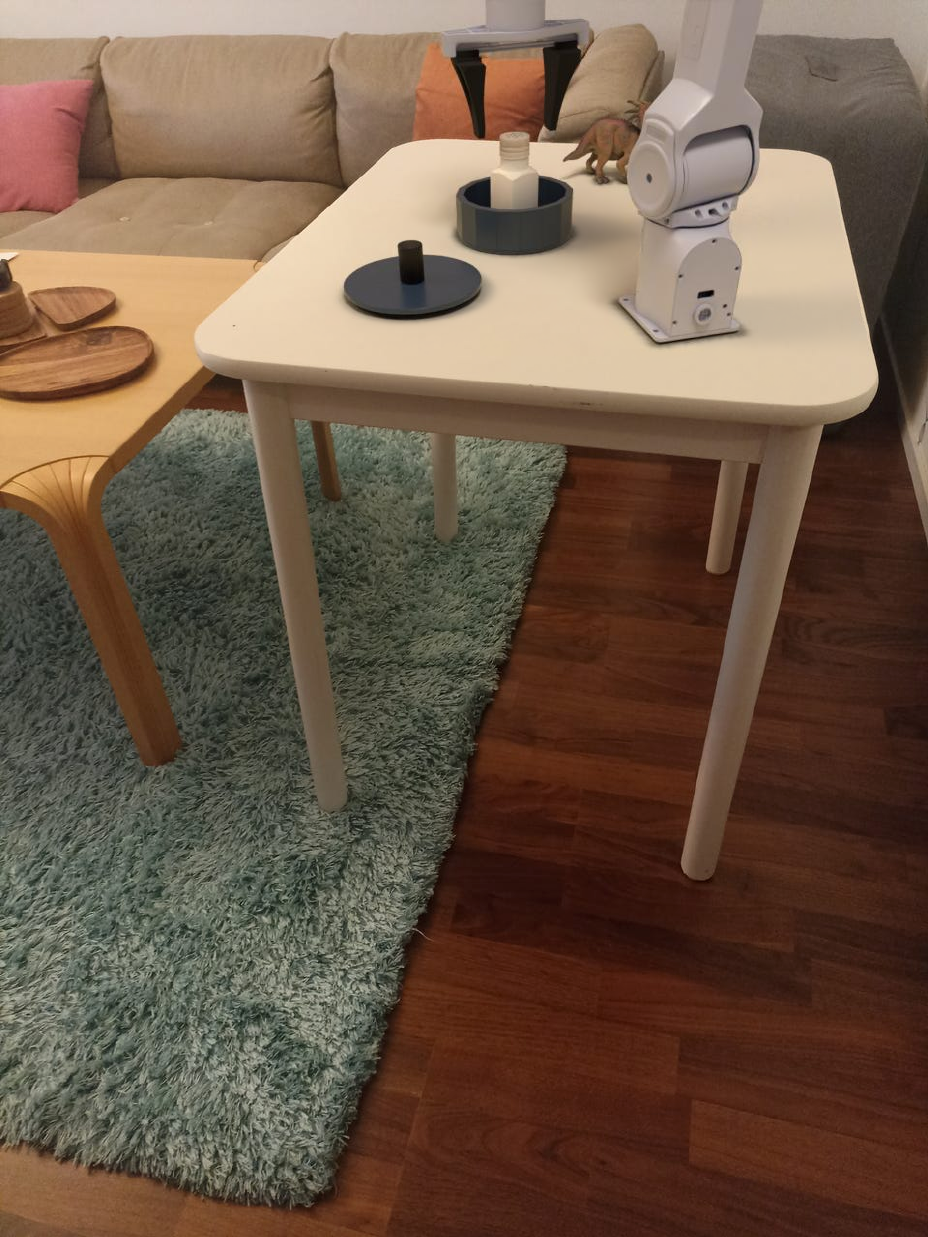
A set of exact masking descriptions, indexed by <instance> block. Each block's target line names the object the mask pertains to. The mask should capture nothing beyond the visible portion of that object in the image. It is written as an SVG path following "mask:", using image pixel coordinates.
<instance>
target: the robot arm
mask: <svg viewBox="0 0 928 1237" xmlns="http://www.w3.org/2000/svg"><path fill="white" fill-rule="evenodd" d="M764 2H765V0H685V6H684V12H683V16H682V17H683V18H682V23H681V28H680V34H679V40H678V46H677V51H676V57H675V61H674V62H675V63H674V69H673V73H672V79H671V80H670V82H669V83H668V85H667V86H665V88H664V89H663V90H662V91H661V92H660V94H659V95H658V96H657V98H656V99H654V100H653V102H651V106H650V107H649V108H648V109H647V110H646V112H645V114H644V117H643V124H642V125H641V128H640V130H641V133H640V136H639V138H638V141H637V142H636V144H635V146H634V148H633V149H632V152H631V155H630V158H629V162H628V164H627V171H626V175H627V176H626V177H627V182H628V183H627V188H628V192H629V195H630V198H631V201H632V202H633V205H634V206H635V208H636V210H637V215H638V216H641V217H643V221H642V228H641V239H640V241H641V242H640V248H639V249H640V250H639V260H638V269H637V277H636V278H637V279H636V287H635V288H636V289H635V293H634V294H626V295H621V296H619V297H618V303H619V304H620V305H621V306H622V307H623V309H625V310H626V311H627V313H628V314H629V315H630V316H631V317H632V318H633V319H634V320H635V321H636V322H637V323H638V324H639V326H641V328H642V329H643V330H644V331H645V332H646V333H647V334H648V335H649V336H650V337H651V338H652V339H653V340H654V341H655V342H657V343H666V342H673V341H679V340H686V339H691V338H699V337H707V336H712V335H718V334H726V333H732V332H737V331H739V329H740V326H741V325H740V323H738V322H737V321H736V320H735V319H734V318H733V315H734V310H735V304H736V298H737V294H738V290H739V289H738V288H739V283H740V278H741V272H742V266H743V256H742V252H741V250H740V248H739V245H738V244H737V243H736V242H735V240H734V238H733V237H732V235H731V229H730V218H731V213H732V212H734V211H736V210H737V209H738V202H739V198H740V196H742V195H744V194H745V193H746V192H748V190H749V189H750V188H751V186H752V185H753V183H754V182H755V180H756V178H757V175H758V171H759V167H760V160H761V158H760V157H761V155H760V154H761V152H760V143H759V142H760V141H759V140H760V138H759V137H760V136H759V135H760V126H761V123H762V118H763V115H764V109H763V108H762V106H761V105H760V104H759V102H758V101H757V100H756V99H755V98H754V97H753V96H752V94H751V93H750V91H748V90H747V88H746V87H745V84H746V79H747V76H748V70H749V67H750V62H751V57H752V53H753V48H754V44H755V40H756V36H757V32H758V27H759V22H760V19H761V14H762V10H763V5H764ZM589 40H590V21H589V20H587V19H584V18H572V19H571V18H570V19H546V0H485V24H481V25H476V26H475V25H474V26H469V27H463V28H456V29H448V30H441V31H440V48H441V50H440V52H441V55H442V56H443V57H444V58H445V59H450V62H451V65H452V67H453V69H454V72H455V73H456V76H457V78H458V80H459V83H460V85H461V89H462V91H463V93H464V96H465V99H466V103H467V107H468V111H469V114H470V118H471V123H472V124H471V125H472V131H473V135H474V136H475V138H477V139H478V140H481V139H486V130H487V128H486V111H485V92H486V91H485V90H486V89H485V88H486V77H487V76H486V75H487V66H486V64H484V63H483V57H482V56H480V54H487V53H497V52H498V53H499V52H509V51H520V50H533V49H542V58H543V59H542V60H543V72H544V73H543V74H544V100H543V104H544V105H543V127H544V128H546V130H548V131H549V132H553V131H554V132H555V131H557V128H558V122H559V118H560V113H561V110H562V106H563V103H564V100H565V96H566V94H567V91H568V87H569V85H570V83H571V81H572V78H573V76H574V75H575V72H576V70H577V68H578V66H579V64H580V63H581V58H582V49H580V48H579V47H578V46H588V45H589ZM500 43H501V44H500Z"/></svg>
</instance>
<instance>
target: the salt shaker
mask: <svg viewBox="0 0 928 1237" xmlns="http://www.w3.org/2000/svg"><path fill="white" fill-rule="evenodd" d="M530 135H531V134H529V133H527V132H525V131H507V132H504V133H501V134H499V137H498V140H499V142H498V143H499V148H498V149H499V150H498V151H499V152H498V153H499V154H498V155H499V160H500V162H499V164H500V165H499V166H498V167H496V168H494V169H493V170H492V171H491V172H490V177H491V208H495V209H526V208H534V207H538V175H539V171H538V170H537V169H535V168H534V166H533V167H532V166H531V165H529V160H530V140H531V136H530Z"/></svg>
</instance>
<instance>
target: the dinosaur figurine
mask: <svg viewBox="0 0 928 1237" xmlns="http://www.w3.org/2000/svg"><path fill="white" fill-rule="evenodd" d="M626 103H627V104H632V105H633V106H635V107H636V108H630V109H628V110H626V111H624V112H623V113H624V114H633V115H631V116H630V117H628V118H627V119H625V118H622V117H621V118H620V117H615V116H614V117H606V118H601V119H598V120H596V121H594V122H592V124H590V126H588V127H587V129H586V130H585V131H584V134H583V136H581V138H580V141H579V143H578V144H577V146H576V148H575V149H574V150H573V151H571V152H570V153H568V154H567V155H566V156H564V158H563V159H562V162H563V163H565V162H568V161H577V160H579V159H581V158H582V157H585V156H586V155H588V154H590V156H589V157H588V158H587V159H586V161H585V171H586V172H587V173H591V174H596V179H597V183H598V184H599V185H600V184H603V183H604V184H607V183H608V182H609V181H610V180H611V179H610V178H609V177H608V176H606V174H605V173H604V171H603V168H604V167H605V166H606V164H607V163H608V161H609V162H615V161H616V163H615V166H616V170H617V171H618V173H619V175H620V181H621V183H624V184H628V182H627V171H626V166H628V162H629V158H630V155H631V152H632V149H633V148H634V146H635V144H636V142H637V141H638V138H639V136H640V133H641V128H639V127H638V126H636V125H635V124H636V123H637V122H638V124H640V125H641V126H642V124H643V117H644V114H645V112H646V110H647V109H648V108H649V107H650V106H651V104H652V102H651V101H649V102H648V101H645V100H643V99H642V100H641V99H640V100H638V101H637V100H631V99H629V100H627V101H626ZM632 120H634V123H632V122H630V121H632ZM596 161H597V162H596ZM594 162H596V165H595V167H593V164H594Z"/></svg>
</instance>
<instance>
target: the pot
mask: <svg viewBox="0 0 928 1237" xmlns="http://www.w3.org/2000/svg"><path fill="white" fill-rule="evenodd" d="M455 204H456V206H455V207H456V208H455V209H456V228H457V230H456V232H457V234H458V239H459V241H460V242H461V243H462V244H463V245H464V246H466V247H467V248H470V249H473V250H475V251H479V252H481V253H488V254H494V255H507V256H510V255H528V254H530V255H531V254H535V253H541V252H546V251H549V250H552V249H555V248H557V247H560V246H562V245H563V244H565V243H566V242H567V241H568V240H569V239H570V238H571V235H572V226H573V209H574V208H573V204H574V188H573V187H572V186H571V185H570V184H569V183H568V182H566V181H564V180H560V179H557V178H555V177H551V176H546V175H539V174H538V207H534V208H526V209H495V208H491V176H486V177H482V178H479V179H475V180H471V181H469V182H467V183H466V184H464V185H462V186H461V187H459V188H458V190H457V192H456V194H455Z"/></svg>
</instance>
